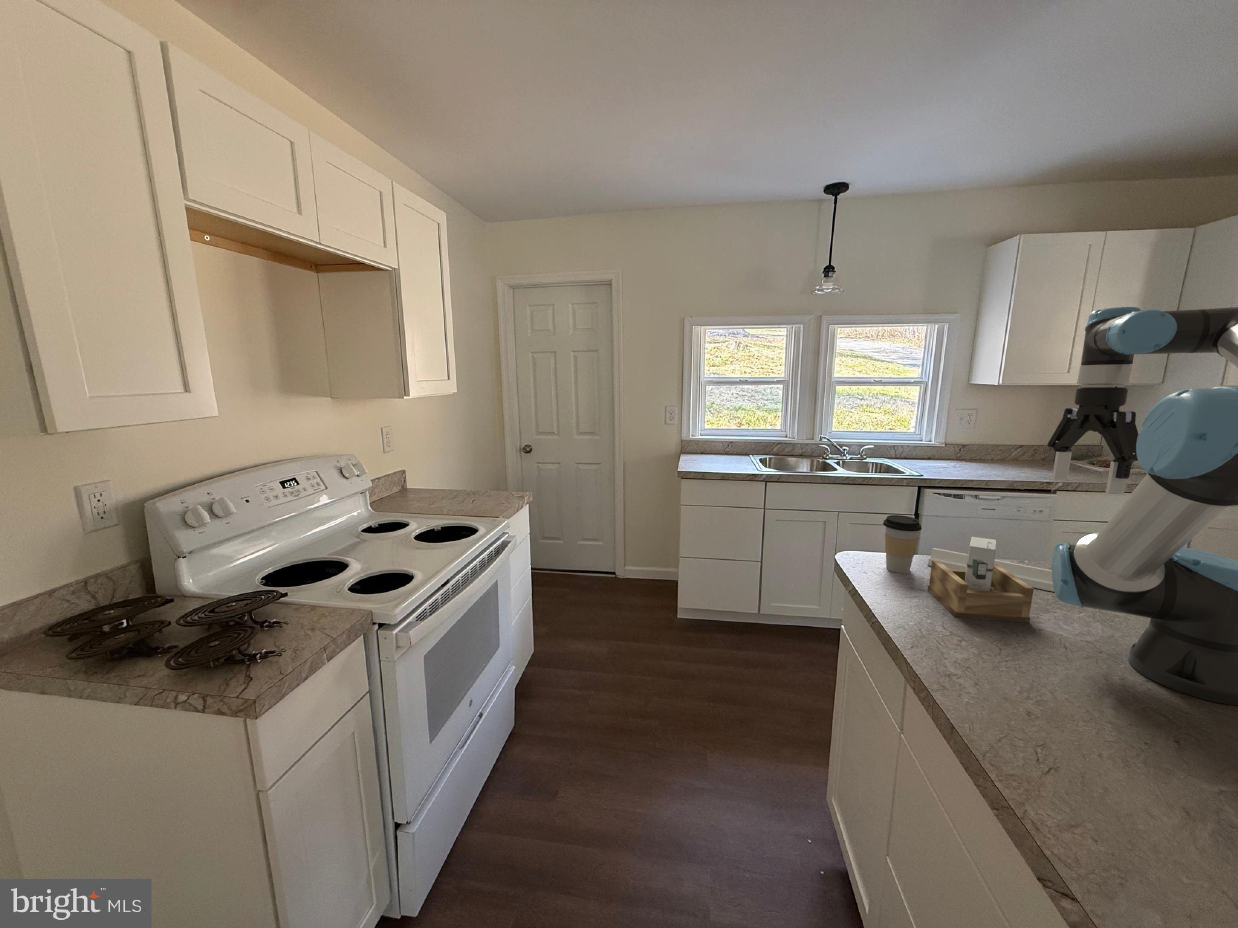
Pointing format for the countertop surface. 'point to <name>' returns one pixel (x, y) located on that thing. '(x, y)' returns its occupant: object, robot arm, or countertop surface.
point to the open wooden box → (981, 595)
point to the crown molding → (1023, 572)
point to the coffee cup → (900, 542)
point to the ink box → (980, 564)
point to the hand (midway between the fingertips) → (1085, 486)
